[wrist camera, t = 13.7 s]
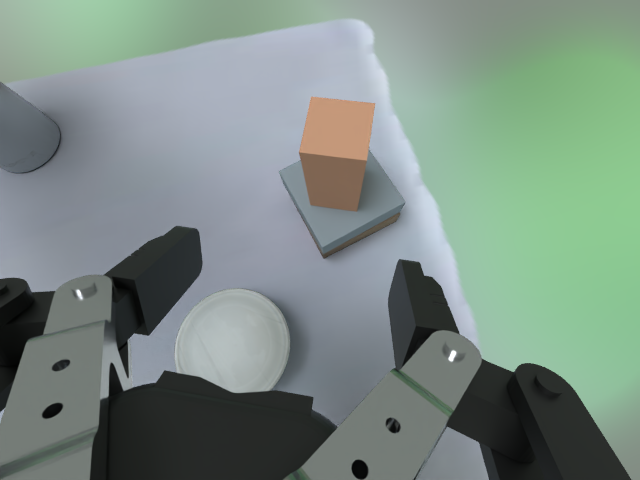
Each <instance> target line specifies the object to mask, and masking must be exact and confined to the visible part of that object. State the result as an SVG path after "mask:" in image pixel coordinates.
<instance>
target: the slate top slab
mask: <svg viewBox="0 0 640 480" xmlns="http://www.w3.org/2000/svg"><path fill="white" fill-rule="evenodd" d="M279 173H280V176H281V179H282V181H283V184H284V186H285V187H286V189H287V191H288V193H289V195H290V196H291V198H292V200H293V202H294V203H295V205H296V207H297V209H298V210H299V212H300V214H301V216H302V217H303V219H304V221H305V223H306V224H307V226H308V228H309V230H310V231H311V233H312V235H313V237H314V238H315V240H316V242H317V244H318V245H319V247H320V249H321V251H322V253H323V254H324V253H326V252H328V251H330V250H332V249H334V248H335V247H337V246H339V245H341V244H343V243H344V242H346V241H348V240H350V239H352V238H354V237H355V236H357V235H359V234H361V233H363V232H365V231H366V230H368V229H370V228H372V227H374V226H376V225H377V224H379V223H381V222H383V221H385V220H387V219H388V218H390V217H392V216H394V215H396V214H398V213H399V212H400V211H401V209H402V207H403V206H404V204H405V201H404V199H403V198H402V196H401V195H400V193H399V192H398V190H397V189H396V188H395V186H394V185H393V183H392V182H391V180H390V179H389V178H388V176H387V175H386V173H385V172H384V170H383V169H382V167H381V166H380V165H379V163H378V162H377V160H376V159H375V157H374V156H373V154H372V153H371V152H370V150H369V149H368V156H367V163H366V168H365V173H364V178H363V183H362V189H361V194H360V199H359V204H358V209H357V212H355V211H348V210H341V209H334V208H327V207H320V206H313V205H310V202H309V197H308V192H307V187H306V183H305V178H304V173H303V168H302V163H301V160H300V161H298V162H296V163H294V164H292V165H290V166H288V167H286V168H284V169H282V170H281V171H279Z"/></svg>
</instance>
